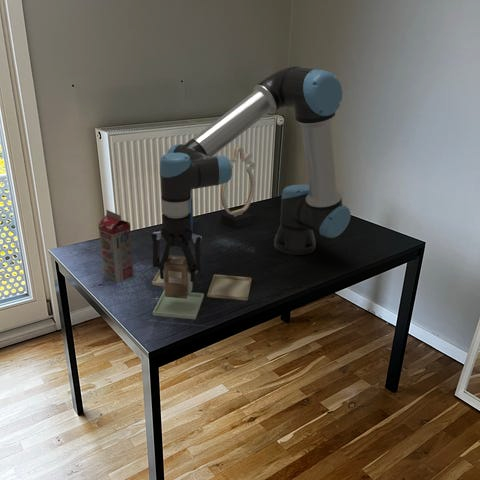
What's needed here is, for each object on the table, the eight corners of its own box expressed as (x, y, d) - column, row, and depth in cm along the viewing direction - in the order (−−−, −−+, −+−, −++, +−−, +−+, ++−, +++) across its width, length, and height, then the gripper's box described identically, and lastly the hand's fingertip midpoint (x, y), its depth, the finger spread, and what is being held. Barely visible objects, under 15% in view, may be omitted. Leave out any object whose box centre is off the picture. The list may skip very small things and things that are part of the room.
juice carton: (120, 270, 156) (115, 207, 147) (133, 276, 152) (129, 212, 143) (103, 277, 151) (97, 212, 142) (116, 284, 148) (110, 218, 138)
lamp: (244, 215, 203) (246, 141, 190) (258, 221, 197) (262, 145, 184) (213, 224, 193) (213, 147, 179) (227, 231, 187) (229, 151, 173)
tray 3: (251, 282, 151) (251, 277, 150) (247, 302, 140) (247, 297, 140) (214, 278, 152) (214, 274, 152) (207, 298, 142) (207, 293, 141)
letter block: (191, 287, 137) (190, 256, 133) (186, 299, 131) (185, 266, 127) (170, 286, 138) (169, 254, 133) (165, 297, 132) (163, 264, 128)
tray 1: (198, 271, 157) (198, 267, 156) (190, 289, 146) (190, 285, 145) (162, 268, 158) (162, 264, 157) (152, 286, 147) (151, 282, 146)
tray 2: (203, 298, 142) (203, 293, 141) (195, 321, 131) (195, 316, 130) (164, 294, 143) (164, 290, 142) (152, 317, 132) (152, 312, 131)
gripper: (214, 210, 127) (213, 286, 137) (145, 205, 129) (149, 280, 139) (209, 221, 120) (209, 299, 130) (136, 215, 122) (141, 293, 132)
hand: (178, 289), depth 134 cm, fingers closed on letter block, 6 cm apart
